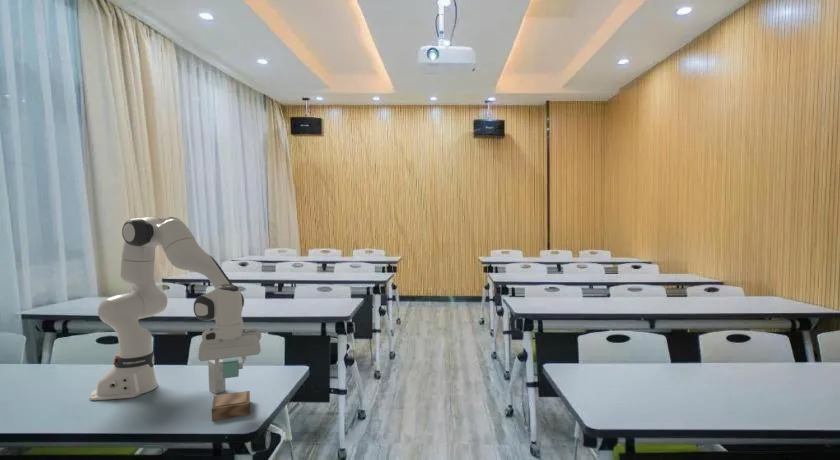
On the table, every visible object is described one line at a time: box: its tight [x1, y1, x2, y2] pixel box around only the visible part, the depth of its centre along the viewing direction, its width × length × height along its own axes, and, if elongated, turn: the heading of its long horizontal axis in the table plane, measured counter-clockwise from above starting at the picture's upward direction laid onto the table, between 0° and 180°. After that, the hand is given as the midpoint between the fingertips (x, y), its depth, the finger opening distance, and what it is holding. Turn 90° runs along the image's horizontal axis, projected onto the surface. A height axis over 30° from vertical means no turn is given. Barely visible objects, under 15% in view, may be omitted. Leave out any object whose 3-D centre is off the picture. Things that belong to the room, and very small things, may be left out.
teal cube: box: [222, 357, 240, 379], centre depth 160 cm, size 5×5×5 cm
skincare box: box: [207, 359, 226, 395], centre depth 179 cm, size 6×4×12 cm
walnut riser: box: [211, 390, 251, 422], centre depth 161 cm, size 12×12×4 cm
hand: (230, 369), depth 160 cm, fingers closed on teal cube, 5 cm apart
